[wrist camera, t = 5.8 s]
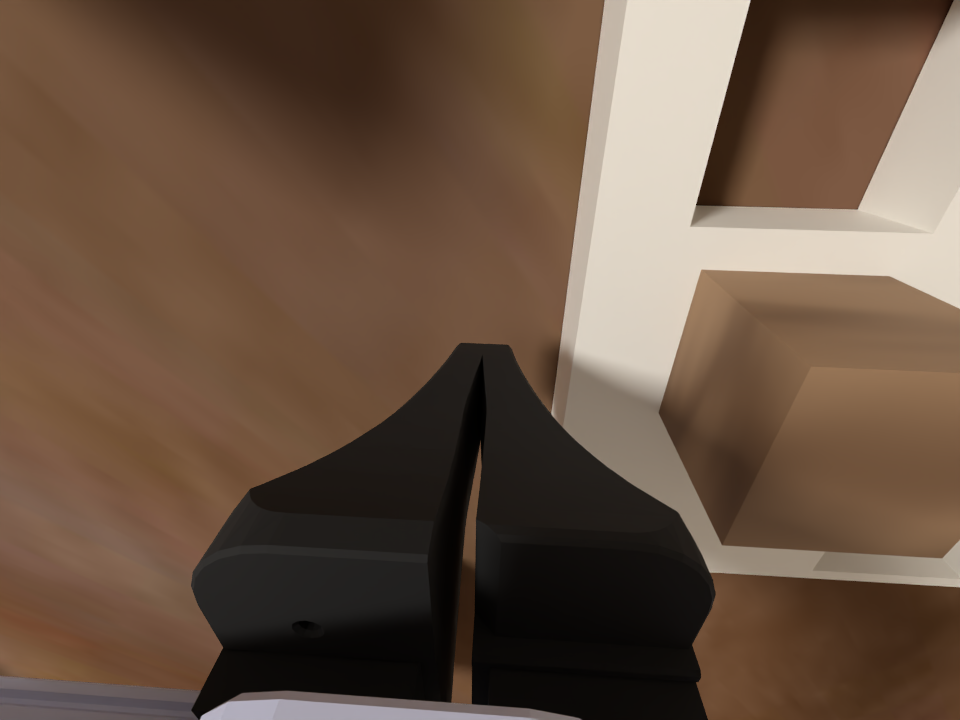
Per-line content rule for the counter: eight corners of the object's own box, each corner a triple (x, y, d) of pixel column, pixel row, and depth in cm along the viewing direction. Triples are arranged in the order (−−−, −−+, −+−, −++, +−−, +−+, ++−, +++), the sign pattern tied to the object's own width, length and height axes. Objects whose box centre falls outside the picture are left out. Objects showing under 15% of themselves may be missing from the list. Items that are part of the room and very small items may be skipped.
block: (811, 420, 13) (942, 558, 9) (658, 412, 13) (722, 545, 9) (889, 276, 10) (1111, 379, 7) (700, 269, 11) (810, 366, 7)
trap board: (957, 533, 18) (1058, 632, 15) (539, 510, 19) (545, 599, 16) (1590, -148, 8) (2388, -329, 5) (623, -143, 9) (696, -297, 5)
